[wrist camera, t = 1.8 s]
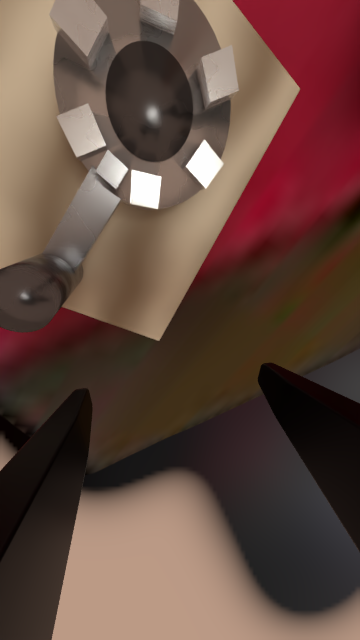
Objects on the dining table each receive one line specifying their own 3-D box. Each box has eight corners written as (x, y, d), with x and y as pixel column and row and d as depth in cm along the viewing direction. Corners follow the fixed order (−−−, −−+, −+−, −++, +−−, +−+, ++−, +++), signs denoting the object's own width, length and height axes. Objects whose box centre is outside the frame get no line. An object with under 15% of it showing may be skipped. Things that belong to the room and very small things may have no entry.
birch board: (285, 100, 15) (302, 87, 14) (157, 333, 22) (159, 341, 20) (-136, -410, 7) (-210, -586, 5) (-145, 223, 13) (-180, 223, 12)
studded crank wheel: (124, -37, 10) (118, -461, 4) (237, 127, 14) (326, 51, 8) (-15, 247, 14) (-136, 270, 7) (105, 313, 18) (93, 365, 11)
